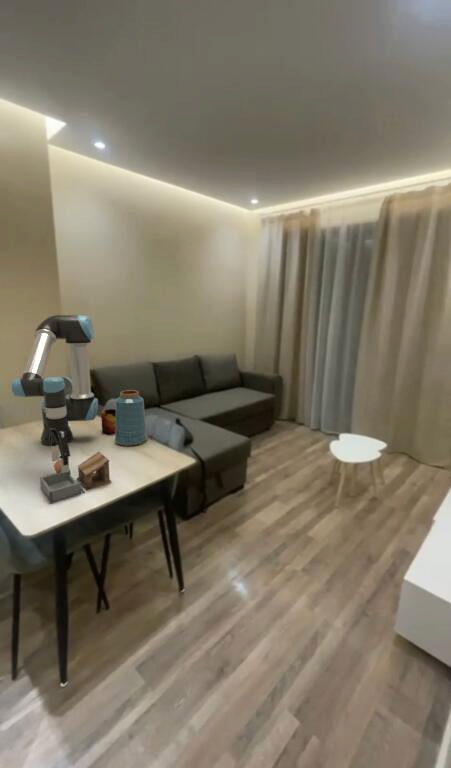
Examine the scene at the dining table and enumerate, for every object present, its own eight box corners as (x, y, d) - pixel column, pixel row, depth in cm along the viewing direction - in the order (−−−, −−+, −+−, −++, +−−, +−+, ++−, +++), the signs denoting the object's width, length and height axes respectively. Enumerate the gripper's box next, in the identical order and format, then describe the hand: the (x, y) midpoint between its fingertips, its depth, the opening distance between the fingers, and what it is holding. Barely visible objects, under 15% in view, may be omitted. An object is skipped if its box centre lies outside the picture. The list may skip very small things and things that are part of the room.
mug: (129, 432, 195) (128, 412, 192) (104, 436, 188) (102, 415, 185) (125, 427, 203) (124, 407, 200) (100, 430, 196) (99, 410, 194)
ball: (52, 471, 142) (51, 459, 141) (65, 467, 145) (64, 456, 144) (56, 475, 138) (55, 464, 137) (69, 472, 142) (68, 460, 141)
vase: (121, 435, 190) (119, 388, 185) (150, 436, 190) (149, 388, 184) (110, 446, 174) (107, 395, 169) (142, 447, 174) (140, 396, 168)
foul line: (71, 479, 140) (71, 479, 140) (73, 478, 141) (73, 478, 141) (83, 493, 130) (83, 493, 130) (85, 492, 130) (85, 492, 130)
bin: (41, 488, 133) (40, 477, 132) (70, 479, 140) (69, 469, 139) (50, 503, 123) (49, 492, 122) (81, 493, 130) (80, 482, 129)
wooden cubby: (76, 479, 140) (75, 456, 138) (101, 472, 147) (99, 450, 144) (86, 490, 132) (84, 466, 130) (111, 482, 138) (110, 459, 136)
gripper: (38, 410, 144) (42, 458, 148) (55, 426, 125) (59, 480, 130) (57, 407, 148) (61, 453, 153) (76, 422, 130) (80, 474, 134)
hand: (60, 466), depth 141 cm, fingers open, 13 cm apart
